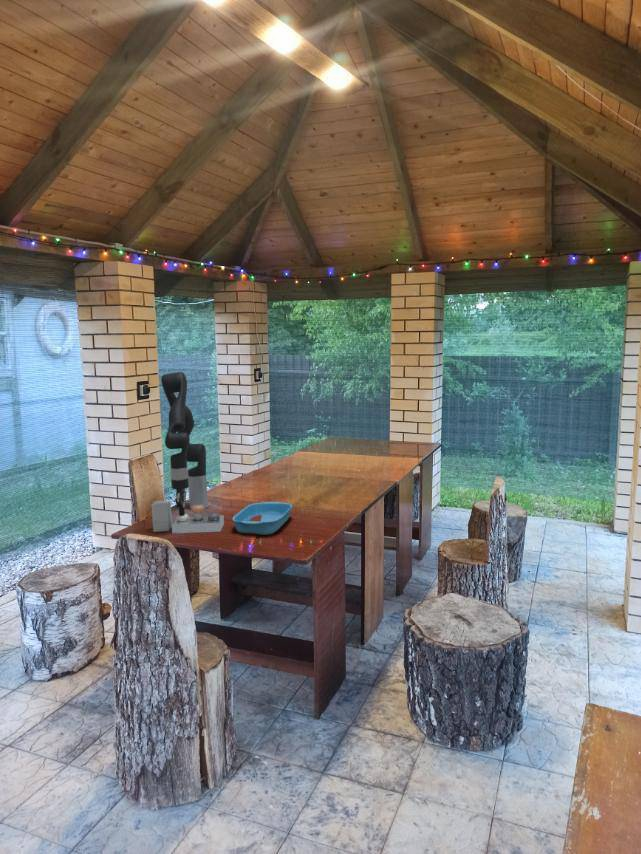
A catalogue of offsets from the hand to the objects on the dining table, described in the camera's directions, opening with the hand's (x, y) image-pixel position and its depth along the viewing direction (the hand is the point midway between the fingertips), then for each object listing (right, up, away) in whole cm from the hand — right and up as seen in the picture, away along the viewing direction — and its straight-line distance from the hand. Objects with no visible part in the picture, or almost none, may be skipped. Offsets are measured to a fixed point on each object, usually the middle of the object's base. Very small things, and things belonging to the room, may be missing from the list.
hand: (182, 515), depth 263 cm
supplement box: (-10, -7, +5) cm, 13 cm away
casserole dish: (+36, -6, +6) cm, 37 cm away
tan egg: (+7, -2, +1) cm, 7 cm away
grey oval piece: (0, -6, +1) cm, 6 cm away
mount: (+7, -7, +1) cm, 10 cm away
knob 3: (+14, -6, +1) cm, 15 cm away
